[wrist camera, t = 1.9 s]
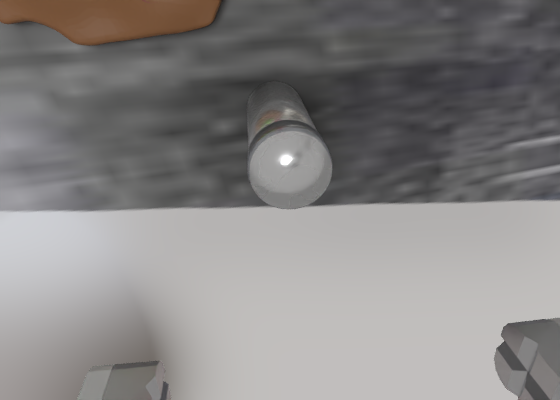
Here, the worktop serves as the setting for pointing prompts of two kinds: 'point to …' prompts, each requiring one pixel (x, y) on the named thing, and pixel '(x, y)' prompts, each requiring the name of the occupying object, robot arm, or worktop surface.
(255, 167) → the frosted cylinder in socket
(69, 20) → the plant
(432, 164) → the worktop surface
